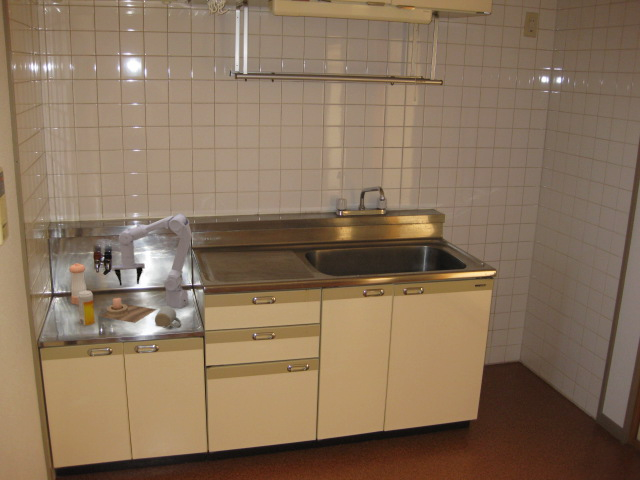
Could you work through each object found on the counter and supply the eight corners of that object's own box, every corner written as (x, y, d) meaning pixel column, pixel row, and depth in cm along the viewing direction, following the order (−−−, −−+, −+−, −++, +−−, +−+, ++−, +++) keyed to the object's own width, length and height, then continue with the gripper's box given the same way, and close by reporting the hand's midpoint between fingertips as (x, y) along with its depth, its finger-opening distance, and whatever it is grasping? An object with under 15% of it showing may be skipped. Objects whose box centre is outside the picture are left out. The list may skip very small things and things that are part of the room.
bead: (131, 311, 298) (131, 305, 297) (119, 319, 290) (119, 312, 289) (115, 309, 301) (114, 302, 300) (102, 315, 293) (102, 309, 292)
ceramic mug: (153, 328, 284) (153, 311, 282) (159, 321, 292) (159, 304, 290) (178, 330, 283) (177, 313, 281) (183, 322, 291) (183, 306, 289)
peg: (123, 313, 296) (122, 298, 295) (118, 315, 293) (118, 301, 291) (116, 311, 298) (115, 297, 296) (111, 314, 294) (111, 300, 292)
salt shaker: (69, 301, 312) (66, 262, 307) (85, 298, 316) (82, 260, 311) (74, 305, 307) (71, 266, 301) (90, 302, 311) (87, 264, 306)
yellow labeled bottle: (97, 323, 288) (95, 291, 283) (88, 328, 282) (86, 295, 278) (86, 321, 289) (83, 289, 285) (77, 326, 284) (74, 293, 280)
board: (156, 311, 302) (156, 309, 302) (135, 325, 287) (134, 322, 286) (121, 305, 308) (121, 303, 308) (98, 318, 293) (98, 316, 292)
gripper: (143, 252, 309) (144, 279, 313) (110, 254, 304) (112, 282, 308) (144, 256, 303) (146, 284, 306) (111, 259, 298) (113, 287, 301)
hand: (129, 284), depth 306 cm, fingers open, 7 cm apart
